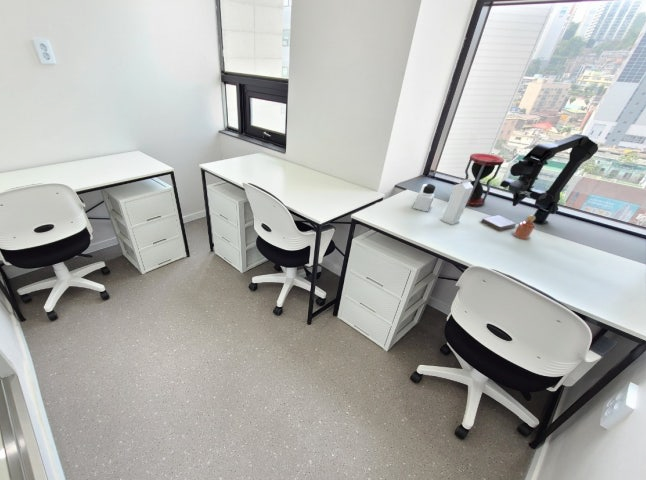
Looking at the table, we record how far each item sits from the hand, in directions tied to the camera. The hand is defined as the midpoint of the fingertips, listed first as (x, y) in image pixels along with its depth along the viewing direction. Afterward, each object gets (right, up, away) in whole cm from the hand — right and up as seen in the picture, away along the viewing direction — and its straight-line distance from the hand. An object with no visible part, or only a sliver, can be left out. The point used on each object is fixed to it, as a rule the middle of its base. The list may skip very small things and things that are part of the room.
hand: (513, 205), depth 152 cm
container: (-36, +4, +21) cm, 42 cm away
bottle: (0, -11, -1) cm, 11 cm away
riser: (-3, -8, +7) cm, 11 cm away
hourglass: (-3, +10, +30) cm, 32 cm away
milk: (-27, -6, +9) cm, 29 cm away
